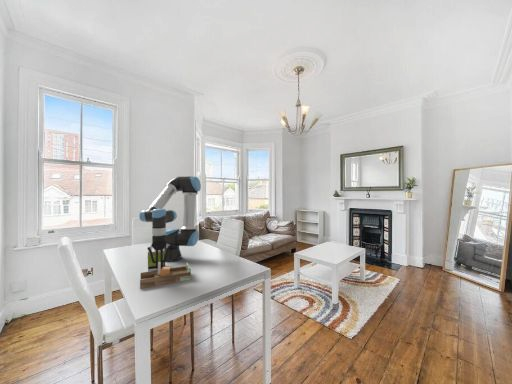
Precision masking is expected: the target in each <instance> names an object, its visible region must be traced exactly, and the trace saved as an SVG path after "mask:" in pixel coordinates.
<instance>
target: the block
mask: <svg viewBox="0 0 512 384" xmlns="http://www.w3.org/2000/svg"><path fill="white" fill-rule="evenodd" d="M170 268H171V267H170V265H169V266H166V265H165V267H163V268H161V274H160V275H161V276H166V275H170Z"/></svg>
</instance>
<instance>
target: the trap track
mask: <svg viewBox="0 0 512 384" xmlns="http://www.w3.org/2000/svg"><path fill="white" fill-rule="evenodd" d="M169 268H170V275H166V276H161V275H160V274H159V275H158V270H155V271H149V272H148V271H144V272H140V279H139V289H144V288H150V287H157V286H161V285H168V284H172V283H177V282H178V283H179V282H185V281H188V280H191V276H192V275H191V274H192V273H191V271H192V270H191V267H190V265H189V263H188V262H185V265H183V266H178V267H169Z"/></svg>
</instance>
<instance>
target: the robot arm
mask: <svg viewBox="0 0 512 384" xmlns="http://www.w3.org/2000/svg"><path fill="white" fill-rule="evenodd" d="M201 189H202V185H201V180H200V178H199V177H197V176H194V175H193V176H192V175H191V176H176V177H173V178H172V179H171V180H169V181H168V182H167V183H166V184H165V185H164V189H163V190H162V191H161V192H160V194H159V195H158V196H157V197H156V198H155V200H154V201H153V202H152V203H151V205H150V206H149V207H148V209H143V210H141V211H140V212H139V215H138V216H139V220H140V221H141V222H145V223H151V224H152V226H151V227H152V228H151V232H152V233H151V234H152V236H151V238H152V239H151V245H150V246H147V250H148V251H149V252H150V255H151V259H152V262H153V263H155V264H156V269H158V275H159V274H161V268H163V262H165V263H166V262H176V261H179V260H181V259H182V257H183V256H182V252H181V249H180V247H183V246H184V247H195V245H197V243H198V242H199V238H200V233H199V231H198V230H197V228H196V226H195V219H196V218H195V217H196V216H195V215H196V196H197V195H198V193H199V192H200V191H201ZM178 192H182V195H183V197H184V198H183V199H184V200H183V215H182V216H183V217H182V227H181V228H179V227H177V228H176V227H175V228H169V229H166V228H167V224H168V223H172V222H174V221H176V219H177V217H178V216H177V212H176V211H175V210H173V209H168V210H166V209H165V207H166V205H167V204H168V203H169V201H170V199H172V197H173V196H174V195H176V194H177V193H178ZM152 247H153V248H154V249H155V250H156V261H155V260H154V257H153V253H152ZM164 248H165V256H164V259H163V249H164ZM158 250H160V262H158Z"/></svg>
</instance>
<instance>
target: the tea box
mask: <svg viewBox="0 0 512 384" xmlns="http://www.w3.org/2000/svg"><path fill="white" fill-rule="evenodd" d="M152 253H153V257H154V260H155V261H156V250H155V249H154V248H153V247H152ZM164 256H165V248H164V249H163V259H164ZM158 262H160V250H158ZM163 267H166V261H165V262H163ZM155 270H158V269H156V264H155V263H153V262H152V259H151V255H150V252H149V250H148V252H147V272H149V271H155Z"/></svg>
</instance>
